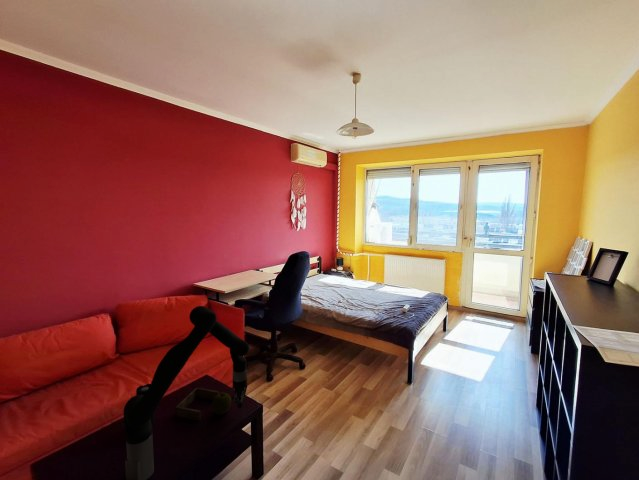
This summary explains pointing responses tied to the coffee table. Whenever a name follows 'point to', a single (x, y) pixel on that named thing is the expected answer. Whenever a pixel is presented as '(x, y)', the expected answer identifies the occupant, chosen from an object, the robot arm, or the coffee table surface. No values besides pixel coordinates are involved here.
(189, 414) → the frame
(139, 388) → the travel mug
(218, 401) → the apple
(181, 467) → the coffee table surface
